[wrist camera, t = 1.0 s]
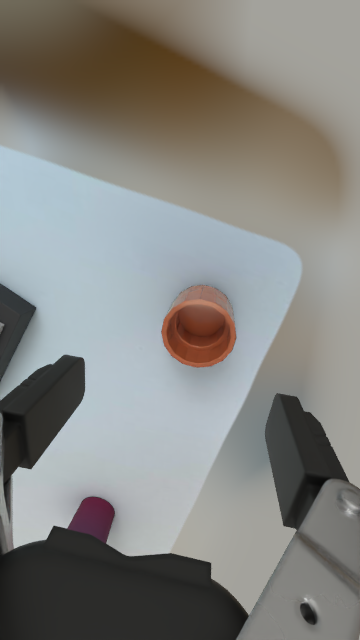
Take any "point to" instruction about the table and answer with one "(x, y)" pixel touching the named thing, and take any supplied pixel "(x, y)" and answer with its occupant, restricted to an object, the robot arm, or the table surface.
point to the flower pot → (199, 327)
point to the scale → (12, 324)
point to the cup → (93, 518)
